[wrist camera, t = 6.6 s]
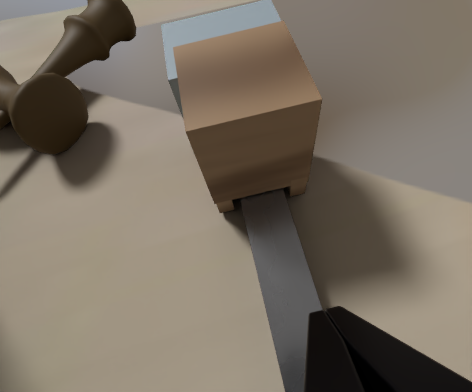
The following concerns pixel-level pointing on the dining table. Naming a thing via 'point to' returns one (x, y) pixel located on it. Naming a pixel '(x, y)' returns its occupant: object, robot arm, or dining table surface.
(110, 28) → the kendama
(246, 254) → the dining table surface
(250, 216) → the rail
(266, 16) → the end block
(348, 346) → the robot arm
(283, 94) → the block
